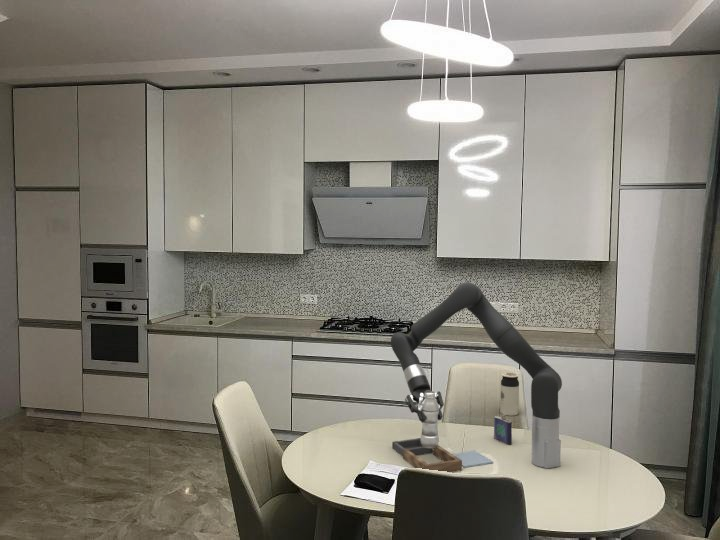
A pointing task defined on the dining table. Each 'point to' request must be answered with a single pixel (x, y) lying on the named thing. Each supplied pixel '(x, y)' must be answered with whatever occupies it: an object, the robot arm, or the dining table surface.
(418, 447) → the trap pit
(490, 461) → the pad
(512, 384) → the travel mug
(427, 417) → the plastic bottle
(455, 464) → the walled lane
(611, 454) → the dining table surface
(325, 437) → the dining table surface
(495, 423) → the flask
